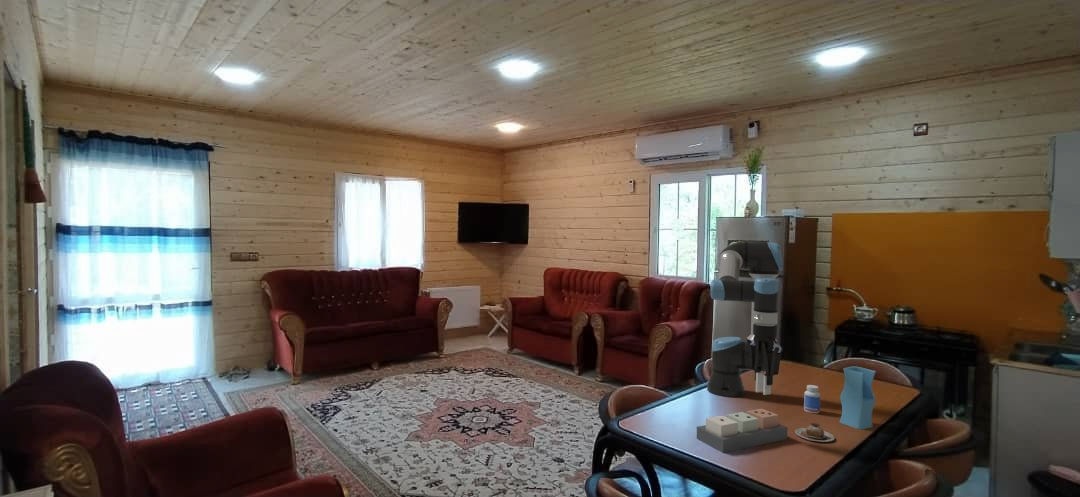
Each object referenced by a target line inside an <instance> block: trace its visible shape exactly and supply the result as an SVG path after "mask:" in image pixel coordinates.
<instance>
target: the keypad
mask: <svg viewBox="0 0 1080 497" xmlns="http://www.w3.org/2000/svg"><path fill="white" fill-rule="evenodd" d="M696 439H697V440H699V441H701V442H702V443H704V444H706V445H708V446H709V447H712V448H713V449H715V450H717V451H719V452H721V453H728V452H732V451H737V450H742V449H747V448H751V447H757V446H761V445H765V444H770V443H774V442H780V441H786V440H788V426H786V425H783V424H782V423H778V426H775V427H770V428H765V429H762V428H760V427H758V430H755V431H750V432H744V433H742V432H739V431H738V434H734V435H729V436H724V437H720V436H718V435H716V434H714V433H712V432H710V431H708V430H706V424H704V425H699V426H696Z"/></svg>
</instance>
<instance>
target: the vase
mask: <svg viewBox="0 0 1080 497" xmlns="http://www.w3.org/2000/svg"><path fill="white" fill-rule="evenodd" d="M842 369H843V374H844V375H843V376H844V385H843V388H842V391H841V394H840V396H839V399H840V402H841V410H842V411H841V416H840V420H839V423H840V424H843V425H846V426H849V427H851V428H854V429H856V430H857V429H858V430H865V429H870V428H873V421H872V420H873V419H872V416H873V415H872V414H873V410H874V406H875V403H876V396H875V394H874V391H873V381H874V378H875V375H876V373H877V371H876V370H872V369H868V368H865V367H860V366H847V367H843V368H842Z"/></svg>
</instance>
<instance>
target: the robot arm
mask: <svg viewBox="0 0 1080 497" xmlns="http://www.w3.org/2000/svg"><path fill="white" fill-rule="evenodd" d="M781 249H782V248H781V246H780V244H779V243H777V242H770V241H766V242H764V241H763V242H761V241H757V242H756V241H740V242H734V243H732V244H729V245H728V246H726V247H725V248H723V249H722V250H721V251H720V253H719V255H718V257H717V258H718V260H717V262H718V266H719V270H718V276H717V278H716V279H712V280H711V282H710V298H711V299H712V300H715V301H721V302H724V301H728V302H744V303H745V302H747V303H751V313H750V314H751V318H750V319H751V320H750V323H751V325H750V334H749V335H748V336H747V337H746V341H742V338H741V337H739V336H738V337H737V336H722V337H717V338H715V339H714V340H712V341H713V342H712V347H711V351H712V352H711V353H712V356H711V357H712V359H711V361H712V362H711V374H710V377H709V380H708V382H707V386H706V387H707V388H706V389H707V391H708V392H709V393H711V394H712V395H713V394H714V395H718V396H722V397H728V398H729V397H734V398H735V397H741V396H744V394H745V387H744V384H743V380H742V376H741V370H748V371H753V372H754V381H755V393H761V392H762V394H763V396H767V395H771V394H772V386H773V383H774V382H773V379H774V378H773V377H774V376H776V375H779V370H780V365H781V363H780V362H781V357H782V356H781V355H782V352H783V351H784V348H783V346H781V344H779V343H777V342H778V340H777V339H776V338H777V336H778V318H779V317H778V312H779V311H778V307H779V306H778V305H779V291H780V288H779V281H778V279H776V278H777V277H779V275H780V274H779V272H781V271H783V268H784V267H783V265H784V264H783V257H782V250H781ZM740 270H748V275H749V276H750V277H751V278H752V280H740Z"/></svg>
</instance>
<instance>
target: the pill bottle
mask: <svg viewBox="0 0 1080 497" xmlns="http://www.w3.org/2000/svg"><path fill="white" fill-rule="evenodd" d="M803 398H804V399H803V400H804V403H803V410H804V412H806V413H809V414H819V413H820V411H821V409H820V408H821V393H820V392H819V386H818V385H813V384H807V385H806V390H805V391H804V397H803Z"/></svg>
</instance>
